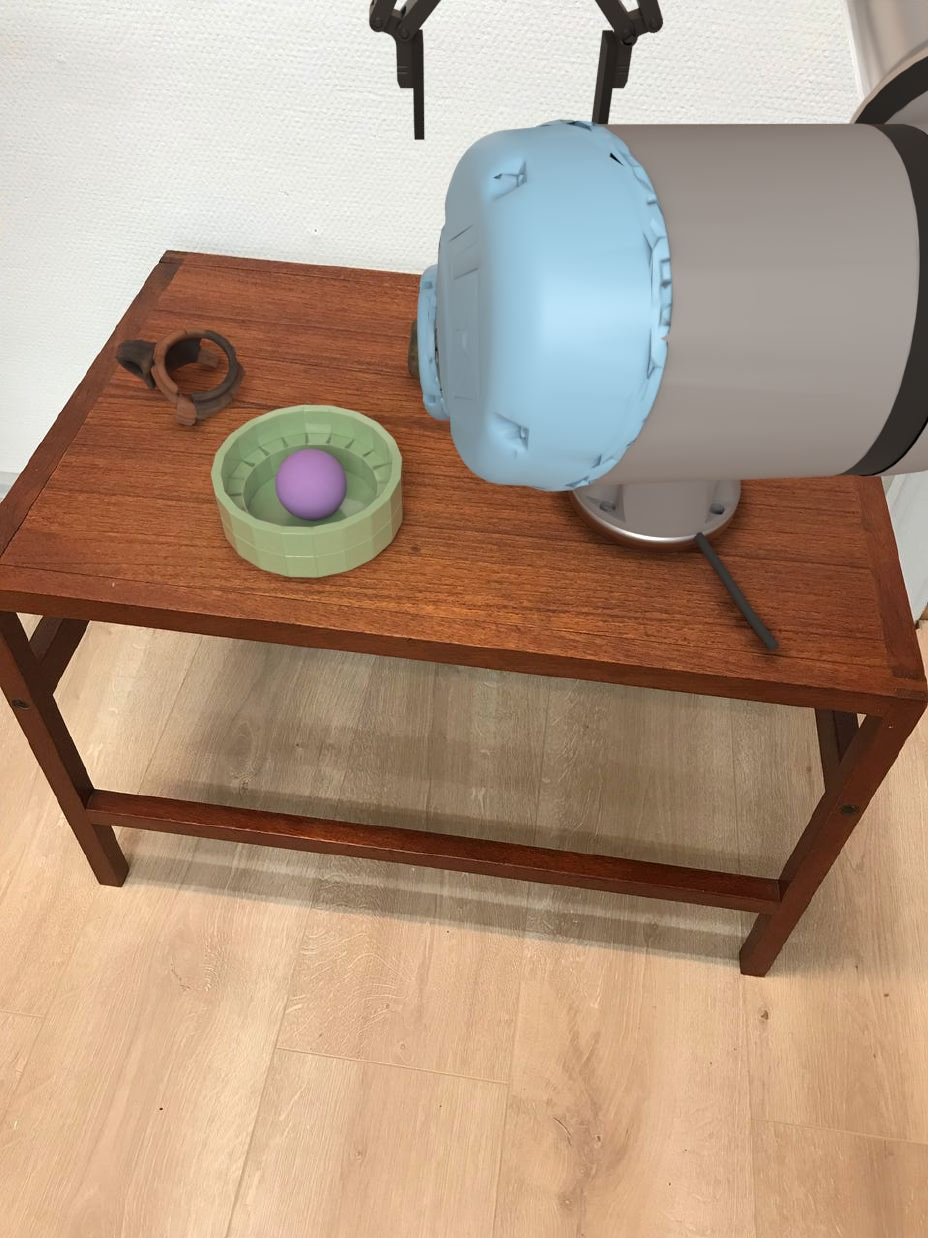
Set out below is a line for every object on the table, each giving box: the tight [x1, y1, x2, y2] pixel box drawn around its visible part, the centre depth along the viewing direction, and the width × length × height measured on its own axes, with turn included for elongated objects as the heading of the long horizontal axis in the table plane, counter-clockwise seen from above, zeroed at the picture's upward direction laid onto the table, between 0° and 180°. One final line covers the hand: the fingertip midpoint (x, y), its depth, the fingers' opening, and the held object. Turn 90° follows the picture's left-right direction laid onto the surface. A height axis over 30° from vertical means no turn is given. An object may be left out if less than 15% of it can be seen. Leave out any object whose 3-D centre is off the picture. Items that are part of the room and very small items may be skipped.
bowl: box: [210, 404, 405, 579], centre depth 83 cm, size 16×16×6 cm
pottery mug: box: [115, 326, 247, 427], centre depth 93 cm, size 12×10×8 cm
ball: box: [275, 449, 347, 520], centre depth 83 cm, size 6×6×6 cm
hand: (509, 131), depth 74 cm, fingers open, 13 cm apart
